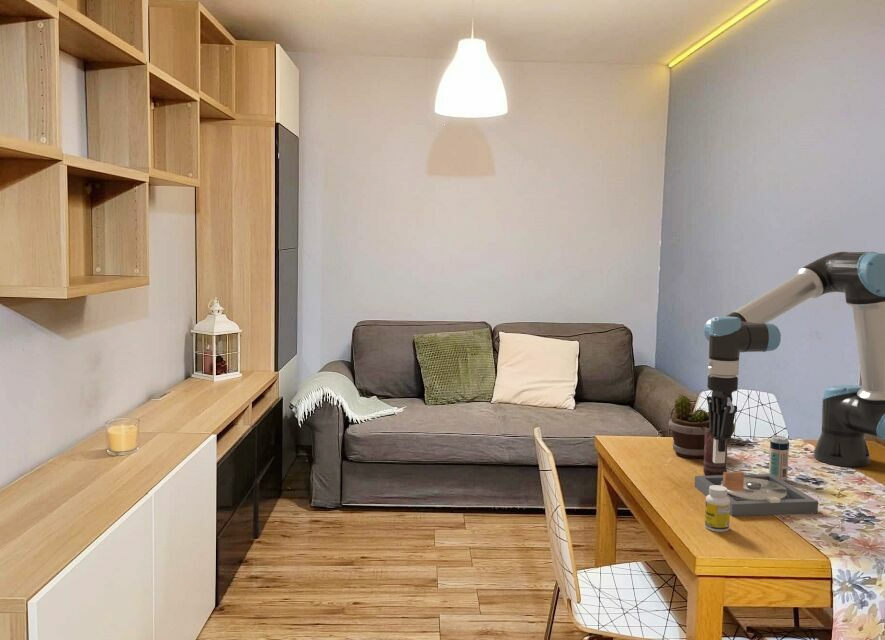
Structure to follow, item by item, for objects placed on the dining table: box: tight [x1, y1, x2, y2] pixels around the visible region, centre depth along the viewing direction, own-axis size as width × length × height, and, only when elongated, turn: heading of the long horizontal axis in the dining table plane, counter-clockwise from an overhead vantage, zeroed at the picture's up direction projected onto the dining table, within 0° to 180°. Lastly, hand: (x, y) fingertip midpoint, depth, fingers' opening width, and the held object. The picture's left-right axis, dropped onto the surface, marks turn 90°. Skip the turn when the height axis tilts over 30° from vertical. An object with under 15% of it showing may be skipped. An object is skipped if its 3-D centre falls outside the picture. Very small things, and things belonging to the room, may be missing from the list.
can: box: [703, 426, 729, 476], centre depth 214 cm, size 6×6×14 cm
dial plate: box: [694, 473, 819, 517], centre depth 194 cm, size 22×22×4 cm
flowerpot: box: [668, 392, 709, 459], centre depth 234 cm, size 14×15×20 cm
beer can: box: [768, 435, 790, 482], centre depth 210 cm, size 5×5×12 cm
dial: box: [721, 471, 787, 501], centre depth 194 cm, size 16×16×6 cm
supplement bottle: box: [704, 485, 731, 533], centre depth 175 cm, size 5×5×10 cm
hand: (718, 462), depth 199 cm, fingers closed
